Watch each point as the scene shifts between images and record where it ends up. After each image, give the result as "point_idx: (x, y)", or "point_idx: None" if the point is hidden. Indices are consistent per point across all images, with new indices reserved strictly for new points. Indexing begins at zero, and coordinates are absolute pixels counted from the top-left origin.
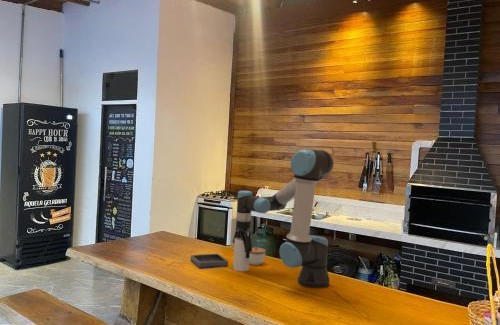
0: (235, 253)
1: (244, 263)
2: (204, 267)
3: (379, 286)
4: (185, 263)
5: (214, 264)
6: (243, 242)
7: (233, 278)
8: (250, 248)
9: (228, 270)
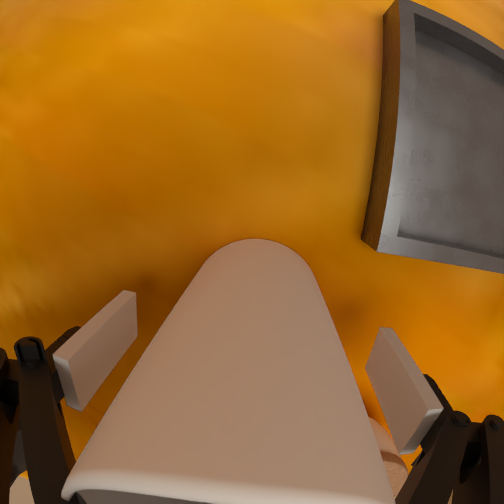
0: (232, 295)
1: (120, 294)
2: (385, 42)
3: (23, 475)
4: (497, 33)
5: (388, 113)
6: (65, 471)
7: (79, 134)
8: (8, 408)
9: (263, 186)
